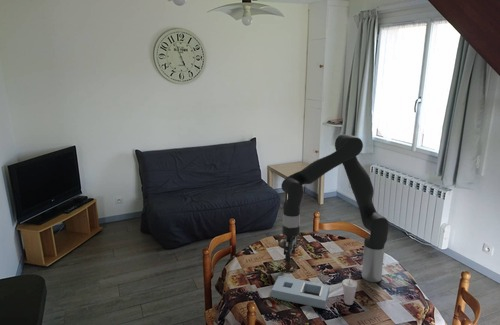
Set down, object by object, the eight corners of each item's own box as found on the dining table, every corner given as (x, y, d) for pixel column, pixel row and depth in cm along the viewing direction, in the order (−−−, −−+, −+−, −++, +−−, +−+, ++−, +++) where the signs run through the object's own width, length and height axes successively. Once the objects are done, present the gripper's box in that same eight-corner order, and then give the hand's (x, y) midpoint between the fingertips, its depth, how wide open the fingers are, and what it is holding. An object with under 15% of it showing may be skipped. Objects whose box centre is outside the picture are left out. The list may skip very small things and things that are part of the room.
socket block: (278, 283, 166) (278, 275, 165) (329, 293, 158) (329, 284, 157) (271, 297, 155) (271, 289, 154) (325, 309, 147) (325, 300, 146)
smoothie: (353, 297, 154) (355, 269, 151) (358, 306, 148) (360, 277, 145) (339, 298, 154) (340, 270, 151) (343, 307, 148) (345, 278, 144)
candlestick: (292, 275, 172) (293, 210, 164) (273, 269, 178) (274, 205, 170) (302, 266, 180) (304, 203, 172) (284, 260, 187) (285, 199, 178)
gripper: (286, 216, 157) (286, 248, 160) (278, 228, 144) (277, 263, 147) (303, 218, 154) (301, 251, 158) (295, 231, 141) (294, 266, 145)
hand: (290, 257), depth 153 cm, fingers open, 8 cm apart
